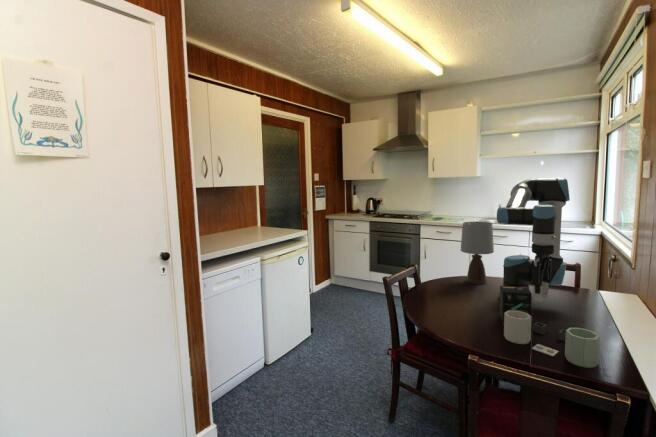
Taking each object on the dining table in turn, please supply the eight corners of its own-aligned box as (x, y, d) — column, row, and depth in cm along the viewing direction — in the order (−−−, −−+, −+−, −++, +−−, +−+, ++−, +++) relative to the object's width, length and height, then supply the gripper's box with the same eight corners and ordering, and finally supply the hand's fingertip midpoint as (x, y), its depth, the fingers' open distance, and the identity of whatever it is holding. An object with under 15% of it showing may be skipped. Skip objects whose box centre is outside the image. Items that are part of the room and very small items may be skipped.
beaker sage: (561, 359, 114) (562, 332, 113) (570, 351, 119) (572, 325, 118) (592, 370, 107) (593, 341, 106) (600, 361, 112) (602, 333, 111)
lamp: (500, 284, 197) (501, 223, 193) (475, 288, 191) (476, 225, 187) (477, 276, 214) (478, 220, 210) (453, 279, 209) (454, 222, 205)
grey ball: (531, 294, 134) (532, 282, 134) (537, 291, 137) (537, 280, 136) (545, 297, 130) (545, 285, 130) (550, 294, 133) (551, 282, 132)
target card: (531, 348, 122) (531, 347, 122) (537, 344, 125) (537, 343, 125) (553, 356, 116) (553, 355, 116) (558, 351, 119) (558, 350, 119)
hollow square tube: (557, 339, 128) (558, 331, 128) (561, 336, 130) (561, 329, 130) (569, 342, 125) (569, 335, 125) (572, 339, 127) (573, 332, 127)
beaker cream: (500, 338, 131) (501, 314, 130) (510, 331, 136) (511, 308, 135) (523, 346, 124) (524, 321, 123) (533, 339, 129) (534, 315, 128)
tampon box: (525, 317, 149) (526, 286, 147) (531, 326, 140) (532, 293, 138) (499, 315, 152) (499, 285, 151) (502, 323, 144) (503, 291, 142)
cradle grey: (532, 331, 136) (533, 324, 135) (536, 328, 138) (537, 321, 137) (543, 334, 132) (543, 327, 132) (546, 331, 135) (547, 324, 134)
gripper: (544, 248, 123) (542, 307, 126) (562, 241, 133) (560, 296, 136) (522, 245, 129) (521, 302, 132) (541, 239, 139) (540, 291, 142)
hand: (541, 298), depth 134 cm, fingers closed on grey ball, 5 cm apart
